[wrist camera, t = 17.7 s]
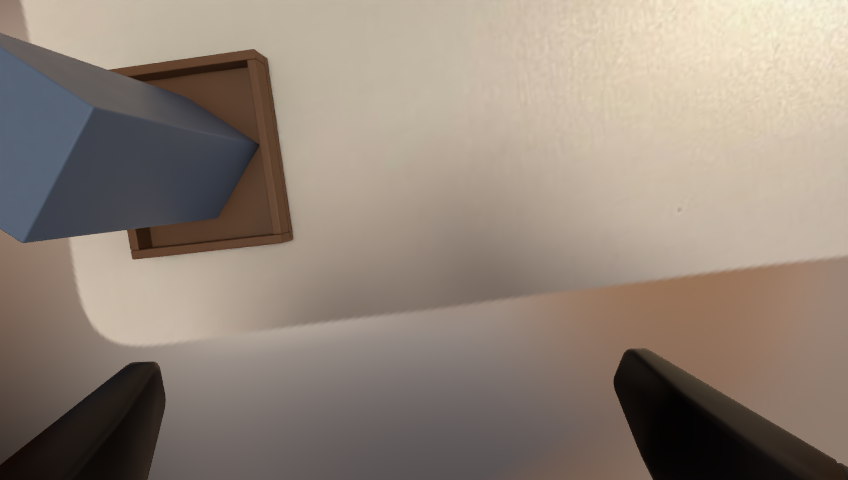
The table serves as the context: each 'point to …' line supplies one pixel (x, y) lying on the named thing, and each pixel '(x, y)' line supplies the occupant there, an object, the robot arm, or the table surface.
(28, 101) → the block
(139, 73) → the tray
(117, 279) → the table surface
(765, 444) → the robot arm
